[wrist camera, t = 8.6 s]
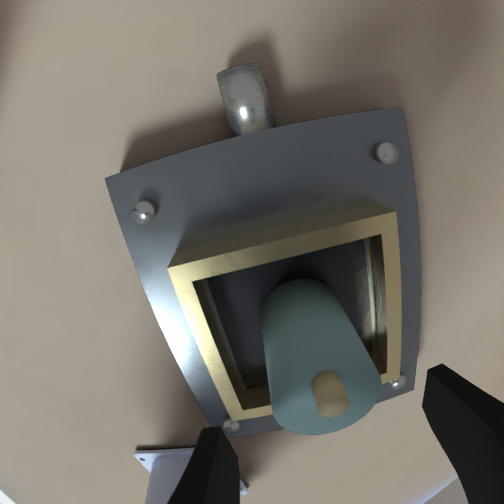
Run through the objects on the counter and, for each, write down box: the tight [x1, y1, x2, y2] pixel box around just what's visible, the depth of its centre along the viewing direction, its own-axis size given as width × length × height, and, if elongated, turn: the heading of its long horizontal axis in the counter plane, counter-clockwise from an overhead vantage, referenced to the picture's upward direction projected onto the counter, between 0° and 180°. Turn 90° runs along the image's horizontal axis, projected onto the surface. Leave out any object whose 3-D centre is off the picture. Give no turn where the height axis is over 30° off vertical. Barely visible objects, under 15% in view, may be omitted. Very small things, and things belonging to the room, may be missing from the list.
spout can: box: [260, 279, 382, 435], centre depth 12 cm, size 4×4×7 cm
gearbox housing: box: [105, 63, 420, 439], centre depth 15 cm, size 21×14×4 cm, turn 14°
